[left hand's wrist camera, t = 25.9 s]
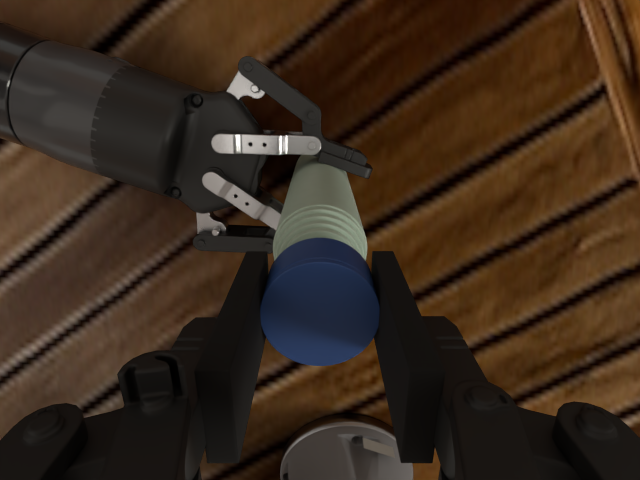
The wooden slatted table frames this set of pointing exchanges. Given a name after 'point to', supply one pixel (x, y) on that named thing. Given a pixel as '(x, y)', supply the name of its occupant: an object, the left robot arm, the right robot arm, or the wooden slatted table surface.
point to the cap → (319, 303)
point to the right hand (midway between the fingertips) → (355, 203)
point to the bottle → (319, 208)
